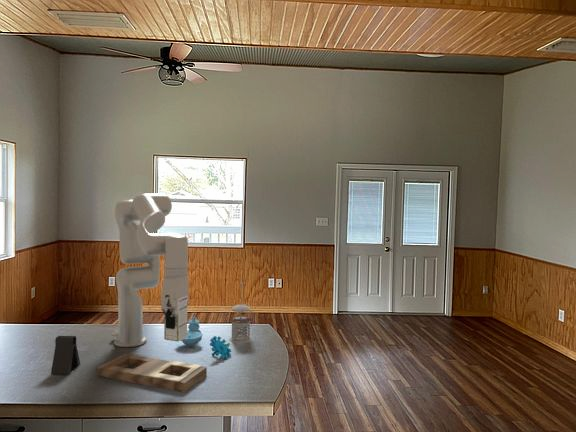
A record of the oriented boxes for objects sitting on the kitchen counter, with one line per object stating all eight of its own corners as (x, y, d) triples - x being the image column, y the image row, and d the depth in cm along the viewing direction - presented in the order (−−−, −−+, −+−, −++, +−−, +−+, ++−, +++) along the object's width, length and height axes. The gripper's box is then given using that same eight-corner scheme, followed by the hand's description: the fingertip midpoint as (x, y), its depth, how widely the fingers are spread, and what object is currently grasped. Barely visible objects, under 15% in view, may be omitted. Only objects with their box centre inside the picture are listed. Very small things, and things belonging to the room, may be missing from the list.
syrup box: (188, 336, 153) (188, 294, 152) (178, 342, 147) (178, 298, 147) (173, 335, 155) (173, 293, 154) (163, 340, 149) (163, 296, 149)
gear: (220, 359, 167) (207, 336, 171) (210, 368, 169) (198, 345, 173) (238, 354, 177) (225, 333, 181) (228, 363, 179) (216, 341, 183)
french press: (224, 339, 195) (225, 281, 194) (246, 333, 203) (247, 278, 202) (237, 345, 188) (238, 285, 187) (259, 339, 196) (260, 282, 194)
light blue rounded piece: (200, 350, 181) (200, 328, 181) (173, 349, 181) (174, 327, 180) (207, 335, 199) (207, 315, 199) (183, 335, 199) (183, 315, 198)
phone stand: (64, 364, 163) (63, 332, 162) (80, 365, 163) (80, 332, 162) (50, 374, 154) (50, 340, 153) (68, 375, 154) (68, 340, 153)
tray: (98, 375, 154) (98, 366, 154) (125, 361, 167) (125, 352, 167) (184, 392, 143) (184, 382, 143) (206, 375, 156) (206, 366, 156)
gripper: (180, 267, 159) (180, 318, 160) (150, 275, 143) (150, 331, 144) (199, 269, 157) (199, 320, 158) (171, 277, 141) (170, 334, 142)
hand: (175, 325), depth 151 cm, fingers closed on syrup box, 5 cm apart
